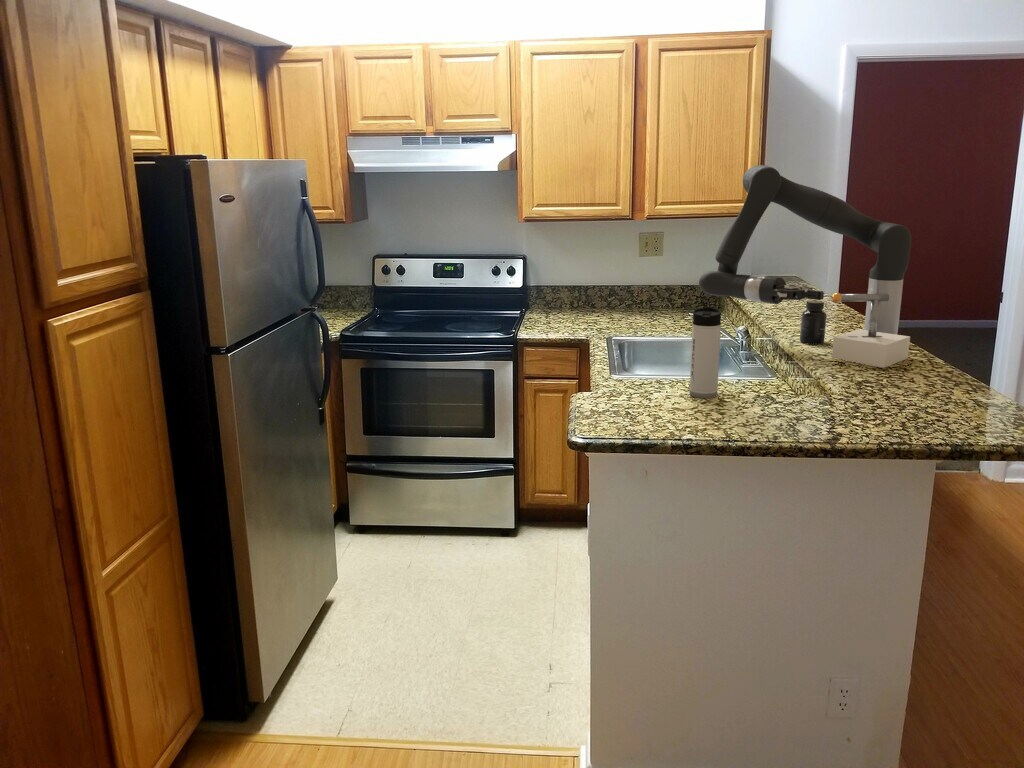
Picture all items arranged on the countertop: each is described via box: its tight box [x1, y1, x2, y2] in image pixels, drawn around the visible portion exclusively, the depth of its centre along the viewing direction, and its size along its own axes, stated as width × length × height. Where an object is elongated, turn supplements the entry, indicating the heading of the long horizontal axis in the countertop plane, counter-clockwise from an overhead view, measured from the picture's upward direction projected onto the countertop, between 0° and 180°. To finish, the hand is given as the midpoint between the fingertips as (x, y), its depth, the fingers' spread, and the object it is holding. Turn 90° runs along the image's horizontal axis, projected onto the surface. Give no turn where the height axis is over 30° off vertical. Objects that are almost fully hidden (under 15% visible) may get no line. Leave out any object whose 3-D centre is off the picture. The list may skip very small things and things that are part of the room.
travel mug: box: [689, 306, 722, 399], centre depth 182 cm, size 6×7×20 cm
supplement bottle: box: [799, 300, 828, 345], centre depth 233 cm, size 7×7×12 cm
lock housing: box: [831, 328, 911, 369], centre depth 213 cm, size 14×14×6 cm
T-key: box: [830, 292, 889, 336], centre depth 211 cm, size 14×3×12 cm, turn 86°
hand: (822, 295), depth 214 cm, fingers closed
